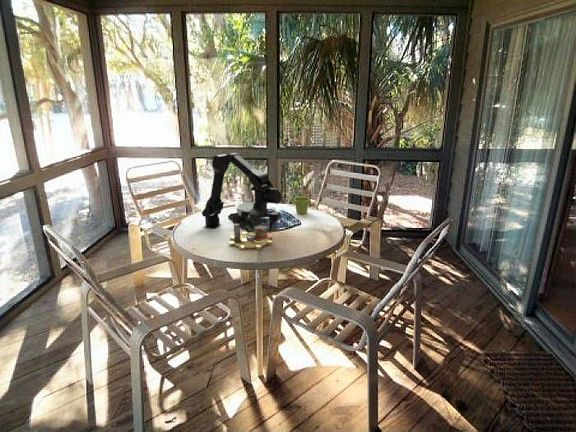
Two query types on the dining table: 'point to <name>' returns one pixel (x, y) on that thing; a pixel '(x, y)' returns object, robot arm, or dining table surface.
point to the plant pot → (301, 205)
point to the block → (261, 231)
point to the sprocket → (248, 239)
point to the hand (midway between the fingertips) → (261, 231)
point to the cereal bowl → (244, 207)
